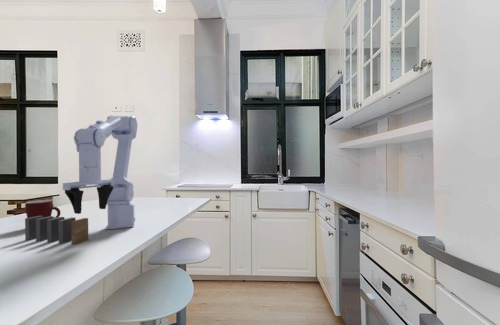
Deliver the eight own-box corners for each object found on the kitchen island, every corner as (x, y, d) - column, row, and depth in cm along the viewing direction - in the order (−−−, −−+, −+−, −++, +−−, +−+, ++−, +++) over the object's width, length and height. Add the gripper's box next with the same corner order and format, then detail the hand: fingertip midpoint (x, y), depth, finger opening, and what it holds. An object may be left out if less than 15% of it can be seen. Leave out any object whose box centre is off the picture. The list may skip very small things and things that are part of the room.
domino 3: (64, 238, 82) (64, 216, 82) (51, 242, 78) (51, 220, 78) (60, 237, 82) (60, 216, 82) (47, 242, 78) (47, 219, 78)
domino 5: (88, 239, 80) (88, 218, 80) (76, 244, 76) (75, 221, 76) (84, 239, 80) (84, 218, 80) (71, 244, 76) (71, 221, 76)
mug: (61, 222, 103) (61, 198, 102) (59, 227, 96) (59, 201, 96) (28, 226, 97) (27, 201, 97) (23, 231, 90) (22, 204, 90)
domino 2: (53, 237, 83) (53, 216, 83) (40, 241, 79) (39, 219, 79) (50, 236, 83) (49, 216, 83) (36, 241, 79) (35, 219, 79)
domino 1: (43, 236, 84) (43, 215, 84) (29, 240, 80) (28, 218, 80) (39, 236, 84) (39, 215, 84) (25, 240, 80) (25, 218, 80)
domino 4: (75, 238, 81) (75, 217, 81) (62, 243, 77) (62, 220, 77) (71, 238, 81) (71, 217, 81) (58, 242, 77) (58, 220, 77)
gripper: (104, 166, 85) (104, 206, 85) (56, 167, 72) (56, 214, 72) (118, 166, 82) (118, 207, 82) (70, 167, 69) (71, 216, 69)
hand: (90, 210), depth 77 cm, fingers open, 7 cm apart
